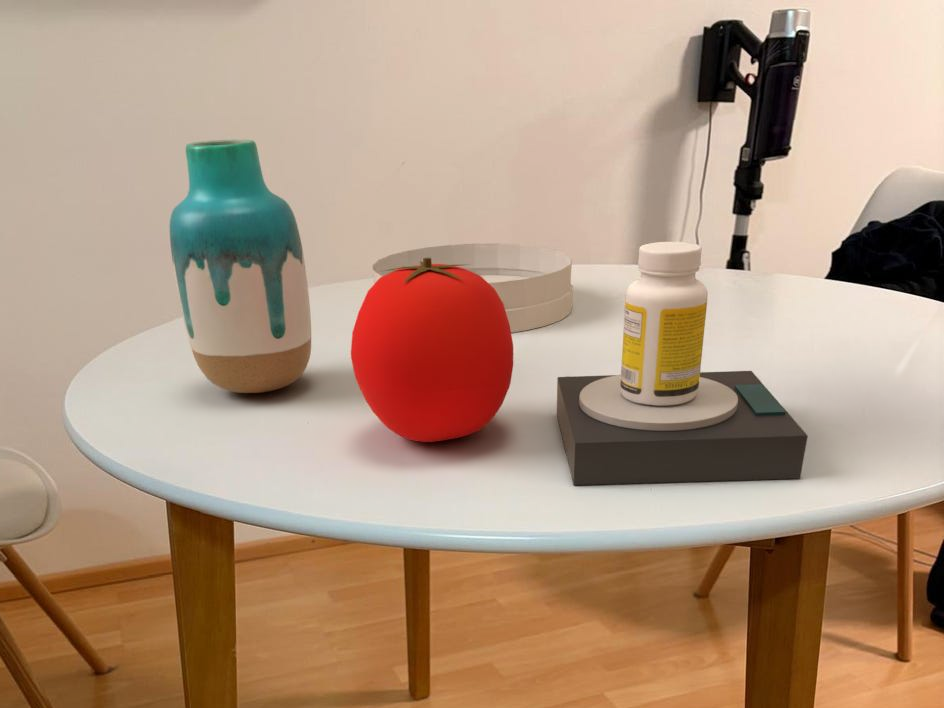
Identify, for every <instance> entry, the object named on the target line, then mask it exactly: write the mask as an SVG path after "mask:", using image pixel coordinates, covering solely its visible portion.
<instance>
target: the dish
mask: <svg viewBox="0 0 944 708" xmlns="http://www.w3.org/2000/svg"><path fill="white" fill-rule="evenodd" d="M423 258H431V264H447V265H461V266H457V267H461V268H463V269H466V270H468V271H470V272H473V273H475V274H477V275H479V276H481V277H482V278H483V279H484V280H485V281H487V282H488V283H489V284H490V285H491V286H492V287H493V288H494V289H495V290H496V292H497V294H498V296H499V297H500V299H501V301H502V302H503V304H504V308H505V311H506V314H507V318H508V321H509V324H510V329H511V334H512V333H518V332H525V331H529V330H533V329H539V328H542V327H546V326H550V325H552V324H554V323H558V322H560V321H563V320H564V319H565V318H567V317H568V316H569V315H570V314H571V313H572V308H573V291H574V290H573V287H574V285H573V284H572V264H573V259H572V257H570V255H568V254H567V253H565V252H563V251H560V250H557V249H553V248H549V247H543V246H538V245H530V244H529V245H528V244H516V243H461V244H446V245H438V246H427V247H421V248H416V249H410V250H405V251H401V252H397V253H393V254H389V255H388V256H385V257H382V258H380V259H378V260H377V261H376V262H374V263H373V264H372V273H373V285H374V284H375V283H376V282H377V280H378V279H379V278H381V277H383V276H385V275H387V274H389V273H391V272H393V271H395V270H390V269H395V268H400V267H411V266H419V265H421V263H420V261H422V262H423ZM471 264H472V265H471ZM385 270H389V271H385ZM396 270H397V269H396Z"/></svg>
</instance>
